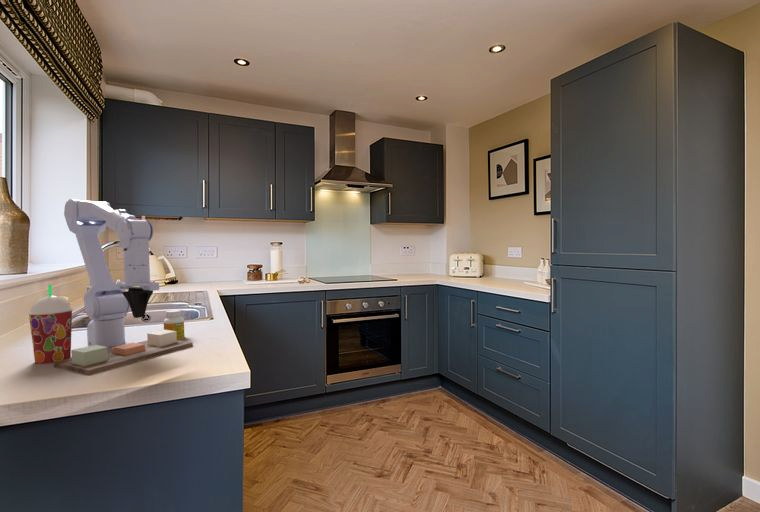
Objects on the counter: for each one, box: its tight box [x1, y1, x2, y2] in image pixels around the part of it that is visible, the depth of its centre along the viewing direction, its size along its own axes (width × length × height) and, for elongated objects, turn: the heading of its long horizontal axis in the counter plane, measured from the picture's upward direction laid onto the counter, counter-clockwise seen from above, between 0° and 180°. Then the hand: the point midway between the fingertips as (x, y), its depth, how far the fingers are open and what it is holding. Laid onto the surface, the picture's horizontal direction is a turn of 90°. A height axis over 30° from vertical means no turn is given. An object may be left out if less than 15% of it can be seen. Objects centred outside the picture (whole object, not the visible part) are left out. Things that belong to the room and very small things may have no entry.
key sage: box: [71, 345, 109, 366], centre depth 93 cm, size 5×5×4 cm
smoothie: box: [27, 284, 74, 365], centre depth 98 cm, size 8×8×20 cm
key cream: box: [146, 329, 177, 347], centre depth 109 cm, size 5×5×4 cm
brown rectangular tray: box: [53, 339, 194, 376], centre depth 101 cm, size 14×26×2 cm, turn 154°
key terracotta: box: [112, 342, 145, 356], centre depth 101 cm, size 5×5×4 cm
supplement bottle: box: [163, 309, 185, 341], centre depth 119 cm, size 5×5×10 cm
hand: (139, 317), depth 105 cm, fingers closed
